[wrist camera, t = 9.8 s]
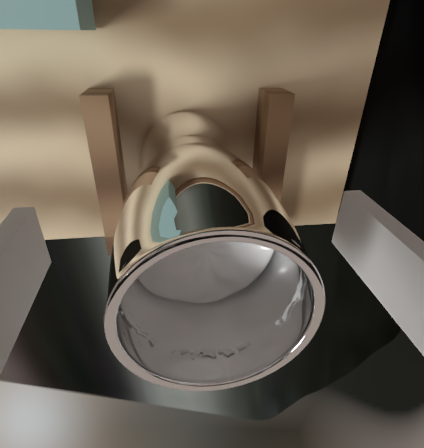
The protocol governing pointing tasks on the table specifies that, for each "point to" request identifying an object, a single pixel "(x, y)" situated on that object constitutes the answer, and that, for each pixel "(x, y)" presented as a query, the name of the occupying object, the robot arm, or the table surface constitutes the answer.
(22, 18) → the block
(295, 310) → the beer glass
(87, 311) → the table surface
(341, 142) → the board
